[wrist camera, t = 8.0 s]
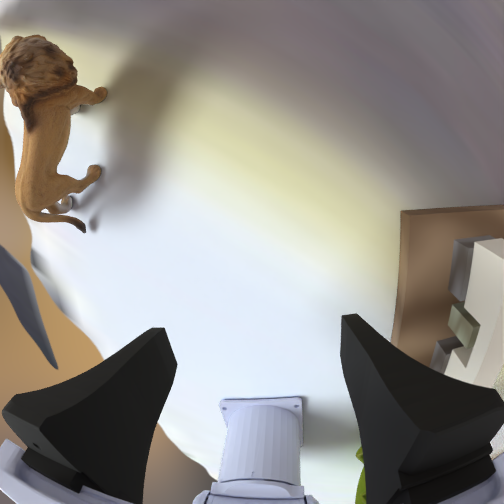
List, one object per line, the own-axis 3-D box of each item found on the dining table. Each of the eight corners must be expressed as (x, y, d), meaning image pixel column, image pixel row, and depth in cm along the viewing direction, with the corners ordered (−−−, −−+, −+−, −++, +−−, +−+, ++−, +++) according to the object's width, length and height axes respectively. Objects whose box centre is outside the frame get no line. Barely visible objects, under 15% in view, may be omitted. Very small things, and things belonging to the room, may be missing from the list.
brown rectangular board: (475, 360, 22) (495, 388, 17) (382, 386, 23) (395, 424, 18) (509, 204, 16) (546, 219, 12) (400, 210, 18) (435, 230, 13)
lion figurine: (63, 65, 15) (-15, 49, 7) (113, 46, 15) (36, 11, 7) (68, 231, 20) (-8, 272, 12) (116, 230, 20) (38, 278, 12)
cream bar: (462, 382, 18) (479, 410, 15) (437, 390, 19) (453, 421, 15) (501, 238, 14) (536, 257, 10) (474, 241, 14) (510, 264, 11)
